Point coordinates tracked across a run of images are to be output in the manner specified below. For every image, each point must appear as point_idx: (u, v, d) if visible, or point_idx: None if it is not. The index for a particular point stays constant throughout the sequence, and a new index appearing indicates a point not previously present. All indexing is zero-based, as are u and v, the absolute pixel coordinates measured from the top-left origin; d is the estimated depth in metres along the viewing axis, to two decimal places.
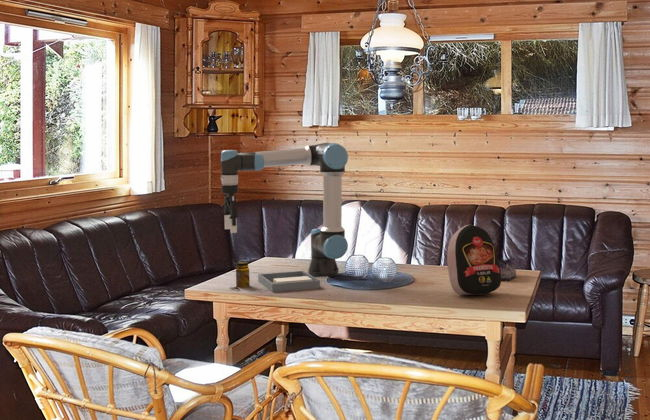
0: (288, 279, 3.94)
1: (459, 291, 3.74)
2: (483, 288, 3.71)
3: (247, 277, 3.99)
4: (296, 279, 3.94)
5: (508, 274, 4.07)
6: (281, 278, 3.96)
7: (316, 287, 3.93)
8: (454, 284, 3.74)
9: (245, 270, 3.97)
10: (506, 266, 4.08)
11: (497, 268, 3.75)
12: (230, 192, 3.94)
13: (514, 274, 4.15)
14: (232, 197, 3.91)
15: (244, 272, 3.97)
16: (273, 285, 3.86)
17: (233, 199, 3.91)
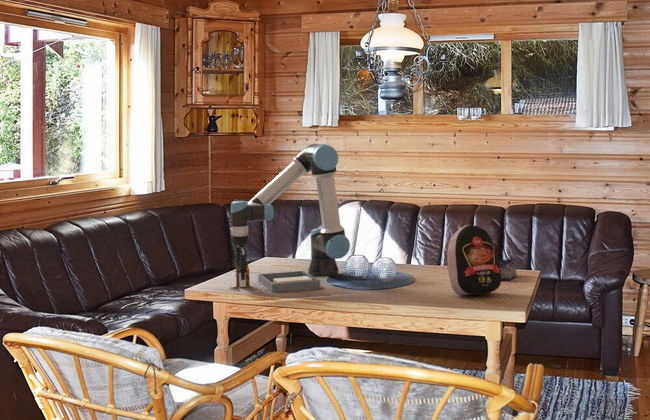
0: (288, 279, 3.94)
1: (459, 291, 3.74)
2: (483, 288, 3.71)
3: (247, 277, 3.98)
4: (296, 279, 3.94)
5: (508, 274, 4.07)
6: (281, 278, 3.96)
7: (316, 287, 3.93)
8: (454, 284, 3.74)
9: None
10: (506, 266, 4.08)
11: (497, 268, 3.75)
12: (240, 243, 3.95)
13: (514, 274, 4.15)
14: (242, 252, 3.92)
15: None
16: (273, 285, 3.86)
17: (243, 253, 3.93)
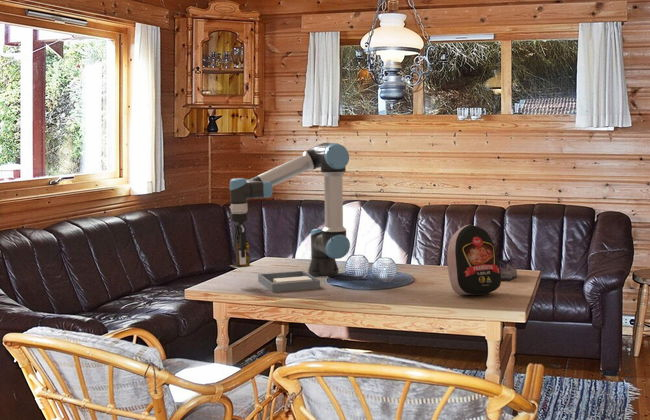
0: (288, 279, 3.94)
1: (459, 291, 3.74)
2: (483, 288, 3.71)
3: (247, 254, 3.97)
4: (296, 279, 3.94)
5: (509, 274, 4.07)
6: (281, 278, 3.96)
7: (316, 287, 3.93)
8: (454, 284, 3.74)
9: None
10: (507, 266, 4.08)
11: (497, 268, 3.75)
12: (240, 221, 3.93)
13: (515, 274, 4.15)
14: (242, 229, 3.91)
15: None
16: (273, 285, 3.86)
17: (243, 231, 3.92)
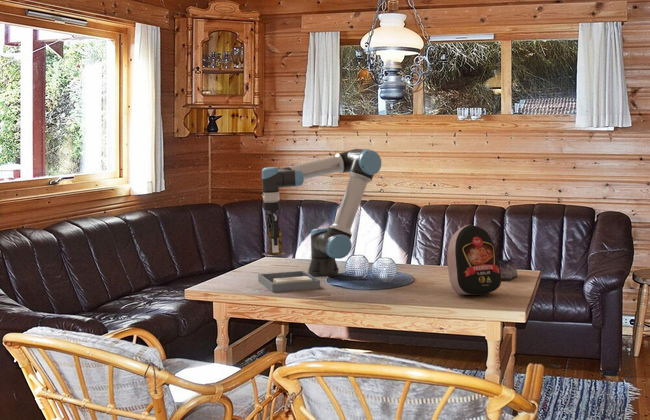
0: (288, 279, 3.94)
1: (459, 291, 3.74)
2: (483, 288, 3.71)
3: (280, 243, 4.02)
4: (296, 279, 3.94)
5: (509, 274, 4.07)
6: (281, 278, 3.96)
7: (316, 287, 3.93)
8: (454, 284, 3.74)
9: None
10: (507, 266, 4.08)
11: (497, 268, 3.75)
12: (272, 209, 3.98)
13: (515, 274, 4.15)
14: (275, 217, 3.95)
15: None
16: (273, 285, 3.86)
17: (276, 219, 3.96)
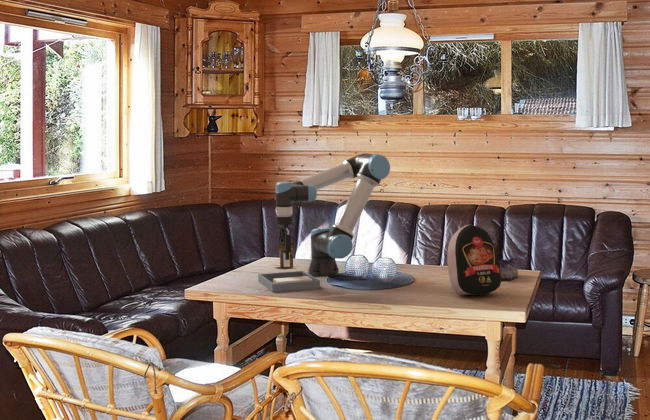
0: (288, 279, 3.94)
1: (459, 291, 3.74)
2: (483, 288, 3.71)
3: (291, 257, 4.04)
4: (296, 279, 3.94)
5: (509, 274, 4.07)
6: (281, 278, 3.96)
7: (316, 287, 3.93)
8: (454, 284, 3.74)
9: None
10: (507, 266, 4.08)
11: (497, 268, 3.75)
12: (285, 223, 4.00)
13: (516, 274, 4.15)
14: (287, 232, 3.98)
15: None
16: (273, 285, 3.86)
17: (288, 234, 3.98)
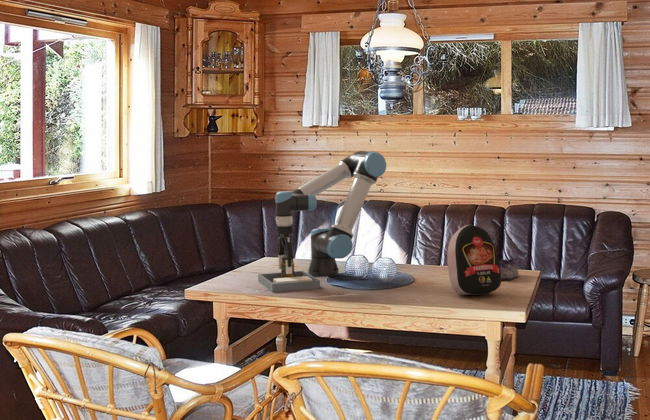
0: (288, 279, 3.94)
1: (459, 291, 3.74)
2: (483, 288, 3.71)
3: (292, 272, 4.05)
4: (296, 279, 3.94)
5: (510, 274, 4.07)
6: (281, 278, 3.96)
7: (316, 287, 3.93)
8: (454, 284, 3.74)
9: None
10: (508, 266, 4.08)
11: (497, 268, 3.75)
12: (285, 233, 4.01)
13: (516, 274, 4.15)
14: (288, 238, 3.98)
15: None
16: (273, 285, 3.86)
17: (289, 240, 3.98)
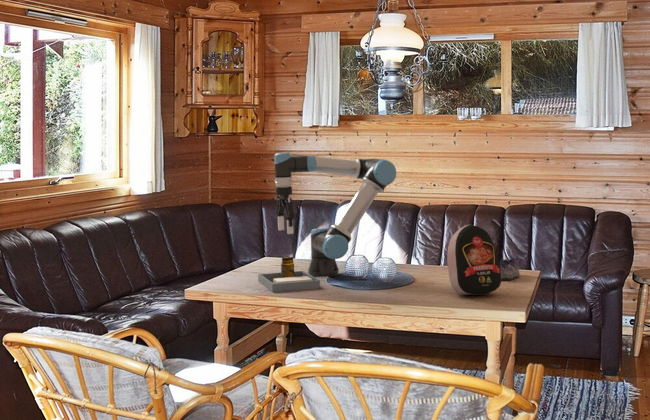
0: (288, 279, 3.94)
1: (459, 291, 3.74)
2: (483, 288, 3.71)
3: (292, 272, 4.05)
4: (296, 279, 3.94)
5: (510, 274, 4.07)
6: (281, 278, 3.96)
7: (316, 287, 3.93)
8: (454, 284, 3.74)
9: (290, 265, 4.04)
10: (508, 266, 4.08)
11: (497, 268, 3.75)
12: (285, 194, 4.02)
13: (517, 274, 4.14)
14: (288, 199, 4.00)
15: (289, 266, 4.03)
16: (273, 285, 3.86)
17: (289, 201, 4.00)
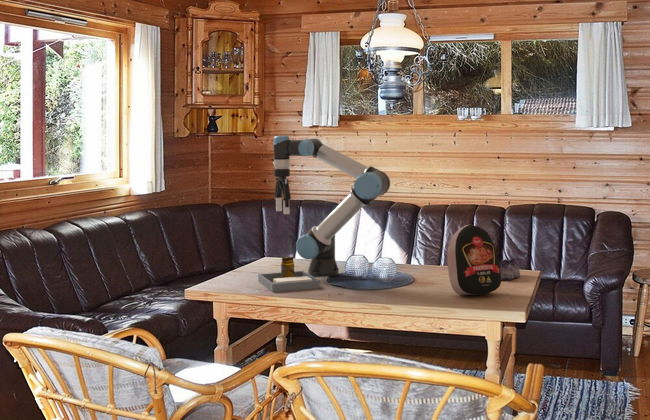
0: (288, 279, 3.94)
1: (459, 291, 3.74)
2: (483, 288, 3.71)
3: (292, 272, 4.05)
4: (296, 279, 3.94)
5: (510, 274, 4.07)
6: (281, 278, 3.96)
7: (316, 287, 3.93)
8: (454, 284, 3.74)
9: (290, 265, 4.04)
10: (508, 266, 4.08)
11: (497, 268, 3.75)
12: (283, 175, 4.15)
13: (517, 274, 4.14)
14: (285, 180, 4.12)
15: (289, 266, 4.03)
16: (273, 285, 3.86)
17: (286, 182, 4.13)
